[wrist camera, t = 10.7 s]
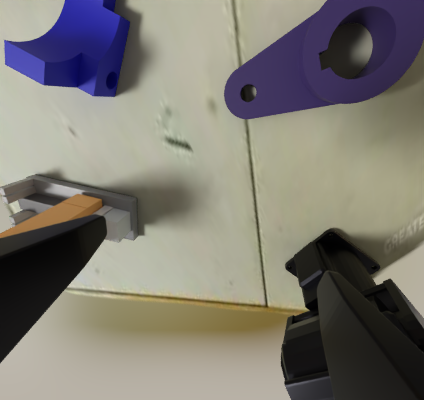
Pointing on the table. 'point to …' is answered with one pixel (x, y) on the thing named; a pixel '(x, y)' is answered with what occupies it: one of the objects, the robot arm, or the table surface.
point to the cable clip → (76, 49)
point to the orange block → (58, 214)
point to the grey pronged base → (59, 191)
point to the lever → (326, 79)
